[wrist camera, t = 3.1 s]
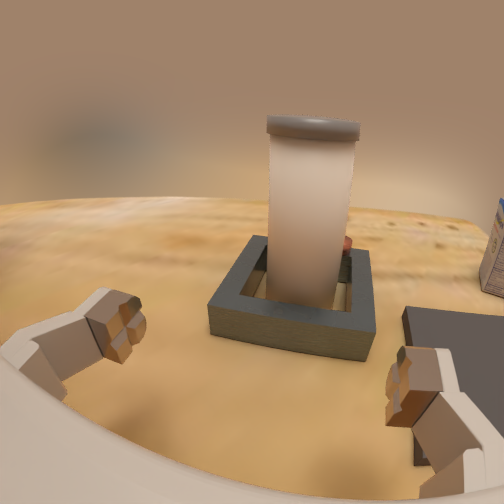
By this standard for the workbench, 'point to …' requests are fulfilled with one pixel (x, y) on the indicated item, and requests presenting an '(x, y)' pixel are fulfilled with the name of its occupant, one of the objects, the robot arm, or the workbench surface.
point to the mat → (464, 356)
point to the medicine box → (494, 257)
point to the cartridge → (308, 206)
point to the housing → (296, 309)
